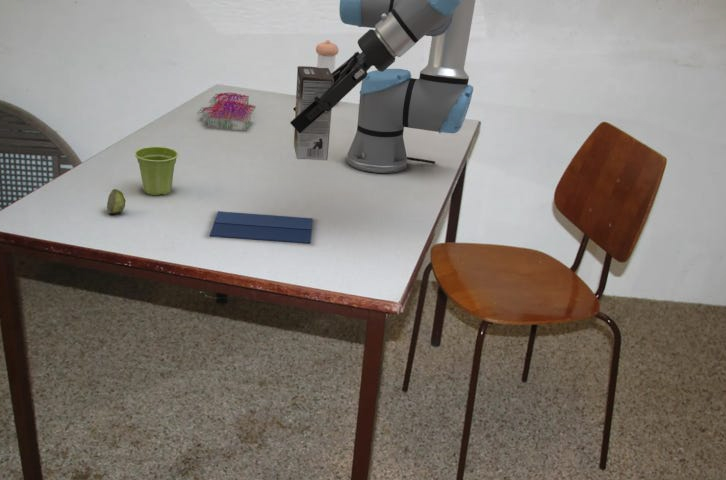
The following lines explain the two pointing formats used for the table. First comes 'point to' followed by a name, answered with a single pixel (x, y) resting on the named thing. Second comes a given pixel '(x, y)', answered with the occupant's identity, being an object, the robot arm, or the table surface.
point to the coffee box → (316, 135)
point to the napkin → (262, 227)
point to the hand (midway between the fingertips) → (296, 120)
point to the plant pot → (156, 168)
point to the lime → (115, 202)
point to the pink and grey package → (227, 110)
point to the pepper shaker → (326, 55)
